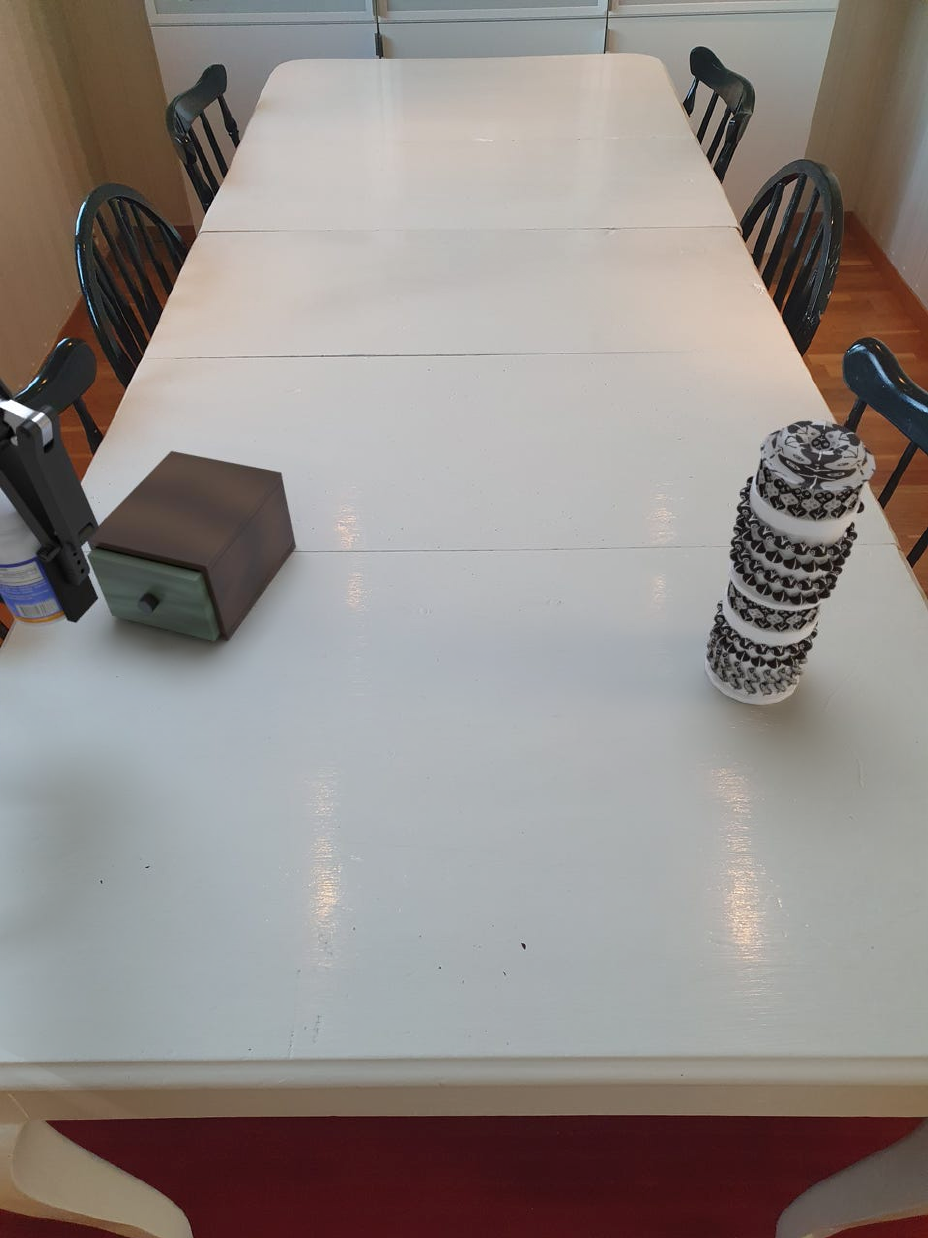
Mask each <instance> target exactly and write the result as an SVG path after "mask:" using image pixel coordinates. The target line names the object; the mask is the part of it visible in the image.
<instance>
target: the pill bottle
mask: <svg viewBox="0 0 928 1238" xmlns="http://www.w3.org/2000/svg"><path fill="white" fill-rule="evenodd" d="M41 547H42V545H41V544H40V543H39V541H38V540H37V538H36V537H35V536H34V534H33V533H32V531H31V530H30V529H29V527H28V526H27V524H26V523H25V522H24V520H23V519H22V517H21V516H20V515H19V513H18V512H17V510H16V509H15V508H14V506H13V505H12V503H11V502H10V501H9V499H8V498H7V496H6V495H5V494H4V492H3V491H2V489H1V488H0V594H1V596H2V598H3V599H4V601H5V603H6V604H5V605H6V607H7V609H8V611H9V612H10V614H11V615H12V617H13V618H14V619H15V620H16V621H17V622H19V623H20V624H22V625H25V626H29V627H47V626H50V625H54V624H57V623H59V622H61V621H64V620H66V619H67V618H66V616H65V614H64V612H63V610H62V608H61V606H60V604H59V602H58V599H57V597H56V595H55V593H54V591H53V589H52V587H51V585H50V582H49V580H48V578H47V576H46V574H45V572H44V570H43V568H42V565H41V563H40V561H39V559H38V557H37V555H36V552H37V551H38V550H39V549H40V548H41Z"/></svg>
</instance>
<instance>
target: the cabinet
mask: <svg viewBox="0 0 928 1238" xmlns="http://www.w3.org/2000/svg"><path fill="white" fill-rule="evenodd" d="M289 509H290V508H289V504H288V499H287V494H286V490H285V484H284V480H283V473H282V472H281V471H276V470H272V469H271V470H270V469H266V468H260V467H255V466H251V465H247V464H246V465H245V464H239V463H235V462H230V461H225V460H219V459H214V458H210V457H205V456H199V455H194V454H190V453H184V452H180V451H175V450H171V451H170V452H168V454H166V455H165V457H164V458H163V459H161V460H160V462H159V463H158V464H157V465H156V466H155V467H154V468H153V469H152V470H151V471H150V472H149V473H148V474H147V475H146V476H145V477H144V478H143V479H142V480H141V481H140V482H139V483H138V484H137V485H136V486H135V488H133V490H132V491H131V492H130V493H128V495H127V496H126V497H125V498H124V499H123V500H122V501H121V502H120V503H119V504H118V505H117V506H116V507H115V508H114V509H113V510H112V511H111V512H110V513H109V514H108V515H107V517H106V518H105V519H103V520H102V522H100V523H99V524H98V525H99V529H98V531H97V532H96V533H95V534H94V535H93V536H92V537H91V538H90V539H89V540H88V541H87V542H86V543H87V544H88V546H89V549H90V552H91V551H92V550H93V549H94V548H98V549H103V550H107V551H111V552H114V551H117V552H121V553H125V554H130V555H134V556H138V557H143V558H147V559H151V560H155V561H160V562H164V563H168V564H173V565H177V566H181V567H186V568H190V569H194V570H199V571H201V573H203V577H204V580H205V583H206V587H207V590H208V593H209V596H210V600H211V603H212V606H213V610H214V613H215V616H216V619H217V623H218V626H219V629H220V632H221V633H220V635H219V636H218V637H217V639H221V640H225V641H229V640H230V639H231V637H232V636H233V635H234V633H235V632H236V631H237V629H238V628H239V627H240V625H241V623H242V622H243V621H244V619H245V618H246V617H247V615H248V614H249V612H250V611H251V609H252V608H253V607H254V606H255V604H256V603H257V602H258V600H259V598H260V597H261V596H262V594H263V593H264V592H265V590H266V589H267V587H268V586H269V585H270V583H271V582H272V580H273V579H274V578H275V576H276V575H277V574H278V572H279V570H281V568H282V566H283V565H284V563H285V562H286V560H287V559H288V558H289V557H290V556H291V553H292V552H293V551H294V550H295V548H296V547H297V544H296V540H295V534H294V529H293V524H292V519H291V515H290V510H289Z"/></svg>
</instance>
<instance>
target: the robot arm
mask: <svg viewBox="0 0 928 1238" xmlns="http://www.w3.org/2000/svg"><path fill="white" fill-rule="evenodd" d="M0 488H1V489H2V491H3V492H4V494H5V495H6V496H7V498H8V499H9V501H10V502H11V503H12V505H13V506H14V508H15V509H16V510H17V512H18V513H19V515H20V516H21V517H22V519H23V520H24V522H25V523H26V524H27V526H28V527H29V529H30V530H31V531H32V533H33V534H34V536H35V537H36V538H37V540H38V541H39V543H40V544H41V545H42V547H41V548H40V549H39V550H38V551H37V552H36V555H37V557H38V559H39V561H40V563H41V565H42V568H43V570H44V572H45V574H46V576H47V578H48V580H49V582H50V585H51V587H52V589H53V591H54V593H55V595H56V597H57V599H58V602H59V604H60V606H61V608H62V610H63V612H64V614H65V616H66V618H65V619H66V621H67V622H70V623H74V624H77V623H78V622H79V621H80V619H81V618H82V617H83V616H85V614H86V613H87V612H88V611H89V610H90V609H91V608H92V606H94V604H95V603H96V602H97V600H99V596H98V594H97V591H96V590H95V587H94V585H93V582H92V580H91V578H90V575H89V574H91V566H90V564H89V562H88V559H87V558H86V555H85V553H84V550H83V548H82V547H83V546H84V545H85V544H87V543H88V542H87V541H88V540H89V539H90V538H91V537H92V536H93V535H94V534H95V533H96V532H97V531H98V529H99V525H100V524H99V523H98V521H97V519H96V516H95V514H94V512H93V511H94V510H93V509H92V507H91V504H90V503H89V500H88V498H87V495H86V493H85V491H84V488H83V486H82V484H81V481H80V478H79V477H78V474H77V472H76V469H75V468H74V464H73V462H72V460H71V458H70V455H69V453H68V450H67V449H66V446H65V444H64V442H63V439H62V431H61V419H60V414H59V413H58V411H57V409H55V408H54V407H52V406H51V405H48V404H43V405H42V406H41V407H39V408H38V409H37V410H34V409H31V408H30V407H29V406H25V405H23V404H22V403H19V402H18V401H16V398H15V396H14V394H13V392H12V391H11V389H10V388H9V387H8V386H7V384H6V383H5V382H4V381H3V380H2V378H1V377H0ZM0 604H3V605H6V603H5V601H4V599H3V598H2V596H1V594H0Z"/></svg>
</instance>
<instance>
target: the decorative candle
mask: <svg viewBox="0 0 928 1238" xmlns="http://www.w3.org/2000/svg"><path fill="white" fill-rule="evenodd" d="M759 449H760V459H759V462H758V467H757V472H756V473H755V474H754V475H752V476H751V475H750V476H749V477H748V478H747V479H746V482H745V483H746V484H745V485H746V486H745V487H743V488H741V490H740V491H739V497H740V499H741V500H742V501H740V502H739V503H738V504H737V506H736V511H737V513H738V514H737V516H736V518H735V525H734V526H733V528H732V531H733V533H734V535H735V536H733V537H732V538H731V540H730V545H731V547H732V548H731V549H730V551H729V555H728V556H729V559H728V563H727V565H728V567H727V568H728V569H727V570H728V578H729V581H728V584H727V585H726V587H725V588H724V592H723V597H722V600H720V601H718V603H717V605H716V607H717V608H716V609H717V610H718V611H717V612H716V614H715V615H714V617H713V621H714V622H715V624H713V626H712V627H711V629H710V630H709V637H710V638H709V639H708V642H707V644H706V648H707V650H706V654H705V656H704V672H705V674H706V675H707V677H708V679H709V681H710V683H711V684H712V686H714V687H715V688H716V689H717V690H719V691H720V692H721V693H722V694H723V695H724V696H726V697H729V698H731V699H733V700H735V701H738V702H740V703H743V704H748V705H749V704H750V705H757V706H765V705H771V704H777V703H780V702H782V701H784V700H786V698H788V697H790V696H792V695H793V694H794V691H795V689H796V688H797V686H798V684H799V682H800V676H803V674H804V670H803V669H802V668H801V667H800V665H806V664H808V661H809V659H808V658H807V656H808V653H809V652H810V651H811V650H812V648H813V645H814V642H812V641H813V639H815V638H817V636H818V633H819V632H818V629H817V626H818V624H819V618H820V615H821V606H822V605H821V604H822V603H823V602H826V601H827V600H828V598H830V597H831V596H832V591H833V590H835V588H836V587H837V582H838V578H839V576H840V575H841V574H842V573H843V567H842V566H844V565H845V564H846V561H847V560H846V559H847V558H848V557H850V556H851V555H852V550H851V549H852V547H853V545H854V541H855V540H857V538H858V533H857V531H856V530H855V528H856V527H855V526H856V525H855V522H854V519H855V517H856V515H857V514H861V513H863V512H864V511H865V508H866V507H865V504H864V502H863V501H862V500H861V493H862V491H863V489H864V487H865V483H867V482H868V481H870V480H871V478H872V476H873V474H874V473H875V471H876V469H877V468H876V462H875V457H874V455H873V453H872V452H871V451H870V450H869V449H868V448H867V447H866V446H865V445H864V443H863V441H862V440H861V439H860V438H859V436H857V435H856V433H855V432H853V430H850V429H849V428H847V427H845V426H843V425H841V424H838V423H835V422H832V421H829V420H821V419H807V420H800V421H796V422H793V423H791V424H789V425H787V426H785V427H782V428H780V429H779V430H776V431H774V432H772V433H770V434H768V435H766V437H765V438H764V440H763V441H762V442H761V444H760V446H759ZM845 534H846V536H845Z"/></svg>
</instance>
